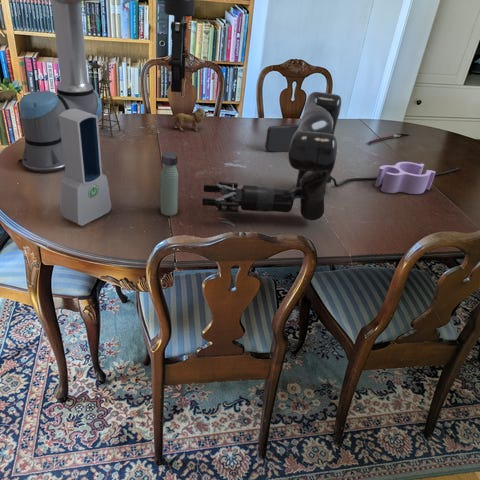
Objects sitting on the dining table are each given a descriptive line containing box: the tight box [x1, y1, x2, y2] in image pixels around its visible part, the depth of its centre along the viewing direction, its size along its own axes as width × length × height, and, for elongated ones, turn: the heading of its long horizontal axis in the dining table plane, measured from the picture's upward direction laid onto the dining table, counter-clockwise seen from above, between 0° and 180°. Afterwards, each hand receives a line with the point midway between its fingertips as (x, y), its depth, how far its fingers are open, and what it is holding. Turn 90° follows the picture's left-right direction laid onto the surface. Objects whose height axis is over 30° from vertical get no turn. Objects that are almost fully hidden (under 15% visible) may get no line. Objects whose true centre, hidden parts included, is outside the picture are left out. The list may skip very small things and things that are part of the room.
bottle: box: [160, 164, 179, 217], centre depth 135 cm, size 5×5×18 cm
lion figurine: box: [170, 107, 206, 132], centre depth 198 cm, size 15×5×9 cm, turn 110°
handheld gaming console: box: [264, 124, 299, 152], centre depth 189 cm, size 23×3×10 cm, turn 108°
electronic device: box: [59, 109, 112, 227], centre depth 126 cm, size 12×8×30 cm, turn 148°
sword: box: [367, 133, 409, 145], centre depth 213 cm, size 31×3×1 cm, turn 126°
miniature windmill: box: [91, 55, 122, 138], centre depth 181 cm, size 9×8×30 cm
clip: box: [374, 161, 436, 195], centre depth 169 cm, size 20×12×7 cm, turn 109°
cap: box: [161, 151, 178, 166], centre depth 131 cm, size 4×4×2 cm
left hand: (178, 84), depth 126 cm, fingers open, 13 cm apart
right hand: (203, 194), depth 137 cm, fingers open, 8 cm apart
